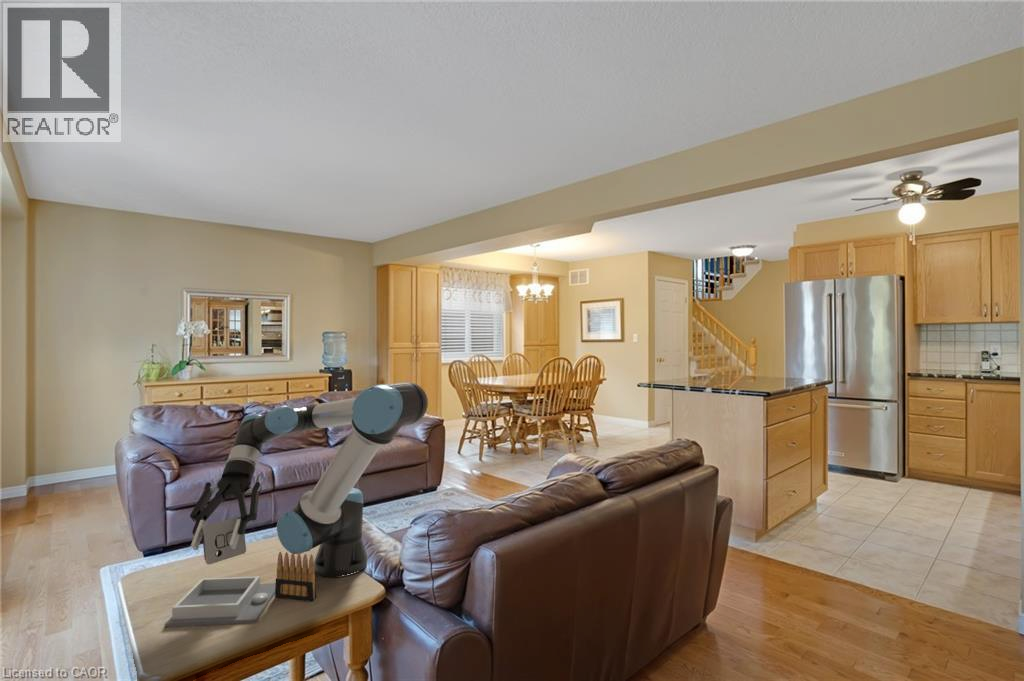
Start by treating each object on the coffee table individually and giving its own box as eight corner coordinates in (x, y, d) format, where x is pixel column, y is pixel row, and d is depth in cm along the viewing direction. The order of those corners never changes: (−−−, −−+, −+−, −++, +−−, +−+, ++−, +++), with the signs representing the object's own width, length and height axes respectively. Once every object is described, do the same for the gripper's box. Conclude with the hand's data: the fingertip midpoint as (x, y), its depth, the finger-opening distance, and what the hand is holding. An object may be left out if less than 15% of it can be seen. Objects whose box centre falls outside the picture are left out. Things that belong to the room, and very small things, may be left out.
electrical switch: (207, 566, 122) (206, 527, 122) (198, 562, 125) (198, 524, 125) (246, 554, 129) (246, 517, 130) (237, 550, 132) (237, 514, 133)
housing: (280, 585, 137) (280, 572, 137) (256, 622, 119) (256, 607, 119) (201, 589, 134) (201, 575, 134) (164, 627, 117) (165, 611, 117)
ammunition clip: (316, 598, 131) (316, 553, 131) (312, 602, 129) (312, 556, 129) (279, 594, 133) (278, 549, 132) (274, 597, 131) (274, 552, 130)
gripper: (283, 472, 144) (261, 552, 128) (204, 472, 141) (172, 554, 125) (277, 458, 138) (254, 539, 122) (196, 458, 135) (161, 541, 119)
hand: (213, 547), depth 123 cm, fingers closed on electrical switch, 8 cm apart
